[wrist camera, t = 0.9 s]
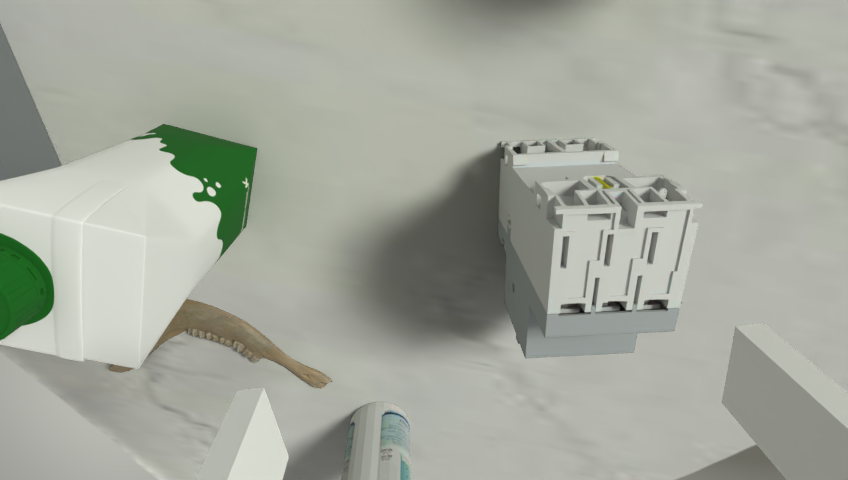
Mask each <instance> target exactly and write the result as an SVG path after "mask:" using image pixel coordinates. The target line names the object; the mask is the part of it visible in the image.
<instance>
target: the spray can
mask: <svg viewBox="0 0 848 480" xmlns="http://www.w3.org/2000/svg"><path fill="white" fill-rule="evenodd" d="M341 480H411V478H410V424H409V421H408V418H407V415H406V414H405V412H404V411H403V410H402V409H400V408H399V407H398V406H395V405H393V404H390V403H386V402H374V403H369V404H367V405H364V406H362V407H361V408H359V409H358V410H357V411H356V412H355V414H354V415H353V417H352V419H351V422H350V426H349V433H348V439H347V446H346V452H345V459H344V465H343V472H342V478H341Z"/></svg>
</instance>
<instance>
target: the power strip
mask: <svg viewBox="0 0 848 480" xmlns="http://www.w3.org/2000/svg"><path fill="white" fill-rule="evenodd" d="M59 166H61V163H60V161H59V159H58V156H57V154H56V152H55V150H54V147H53V145H52V143H51V140H50V138H49V136H48V133H47V131H46V129H45V126H44V124H43V122H42V119H41V117H40V115H39V113H38V110H37V108H36V106H35V103H34V101H33V99H32V96H31V94H30V92H29V89H28V87H27V85H26V82H25V80H24V78H23V76H22V73H21V71H20V69H19V66H18V64H17V62H16V59H15V57H14V55H13V52H12V50H11V48H10V45H9V43H8V41H7V39H6V36H5V34H4V32H3V29H2V27H1V25H0V181H2V180H7V179H11V178H15V177H19V176H24V175H28V174H32V173H36V172H41V171H45V170H49V169H53V168H56V167H59Z"/></svg>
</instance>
